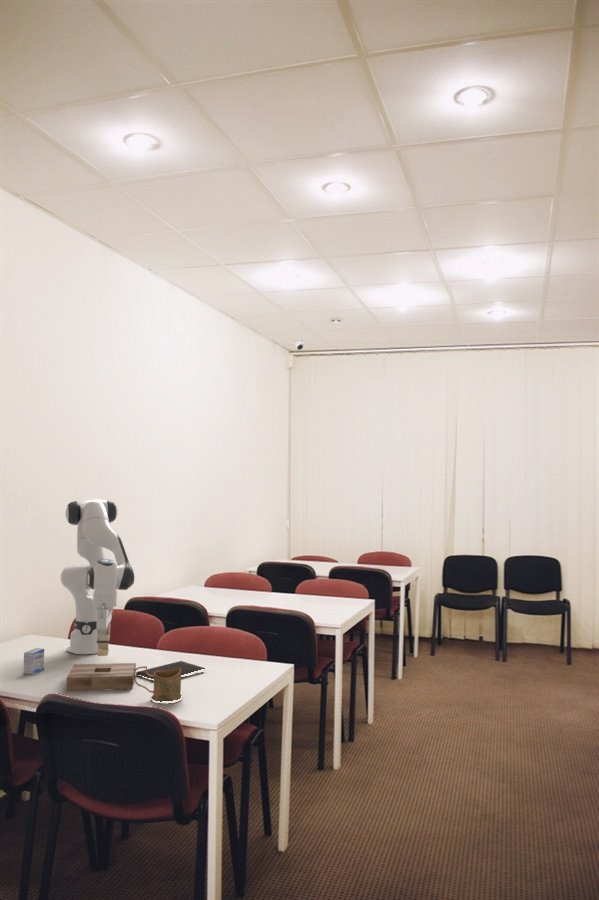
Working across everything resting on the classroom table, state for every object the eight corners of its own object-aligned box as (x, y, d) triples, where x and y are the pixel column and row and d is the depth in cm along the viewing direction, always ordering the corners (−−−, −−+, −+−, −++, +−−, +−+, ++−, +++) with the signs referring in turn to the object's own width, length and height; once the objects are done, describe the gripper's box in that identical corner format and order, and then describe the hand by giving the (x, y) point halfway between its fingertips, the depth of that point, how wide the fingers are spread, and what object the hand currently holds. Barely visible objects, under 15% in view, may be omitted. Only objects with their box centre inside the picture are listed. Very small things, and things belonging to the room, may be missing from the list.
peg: (97, 653, 270) (98, 622, 271) (109, 653, 271) (110, 622, 272) (96, 656, 266) (97, 624, 267) (108, 656, 267) (109, 624, 267)
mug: (133, 695, 254) (134, 662, 255) (181, 693, 258) (182, 660, 259) (133, 706, 243) (134, 671, 243) (183, 703, 247) (184, 669, 247)
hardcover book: (205, 673, 286) (205, 668, 286) (160, 685, 269) (161, 679, 269) (180, 665, 297) (180, 660, 297) (135, 677, 279) (136, 671, 279)
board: (73, 677, 275) (74, 664, 276) (135, 675, 279) (135, 662, 280) (66, 691, 258) (66, 677, 258) (132, 689, 262) (132, 675, 262)
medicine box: (32, 675, 277) (33, 653, 277) (22, 674, 278) (23, 652, 278) (44, 669, 285) (44, 648, 285) (34, 668, 286) (35, 647, 286)
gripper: (110, 606, 260) (109, 643, 259) (115, 597, 280) (114, 631, 279) (93, 606, 259) (91, 643, 258) (99, 597, 279) (98, 632, 278)
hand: (103, 637), depth 269 cm, fingers closed on peg, 4 cm apart
